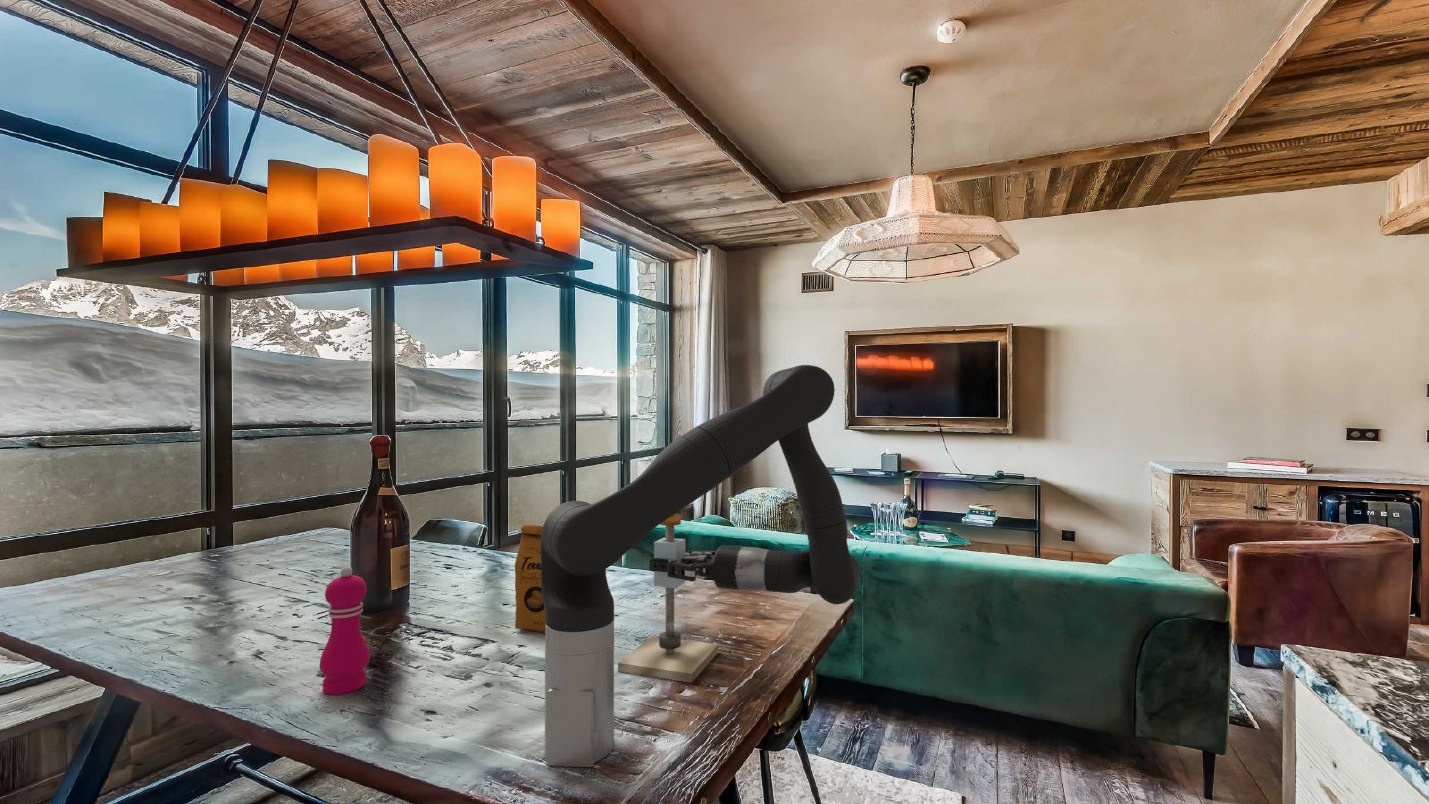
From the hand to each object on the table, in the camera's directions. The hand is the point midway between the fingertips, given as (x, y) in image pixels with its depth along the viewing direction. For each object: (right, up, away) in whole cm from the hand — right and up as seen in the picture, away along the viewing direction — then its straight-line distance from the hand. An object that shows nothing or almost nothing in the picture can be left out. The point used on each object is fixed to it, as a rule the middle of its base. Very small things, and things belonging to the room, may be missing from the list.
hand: (656, 561), depth 113 cm
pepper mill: (-51, -18, -11) cm, 56 cm away
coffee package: (-25, -19, +17) cm, 36 cm away
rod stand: (+3, -18, -1) cm, 18 cm away
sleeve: (+3, -4, -1) cm, 5 cm away
